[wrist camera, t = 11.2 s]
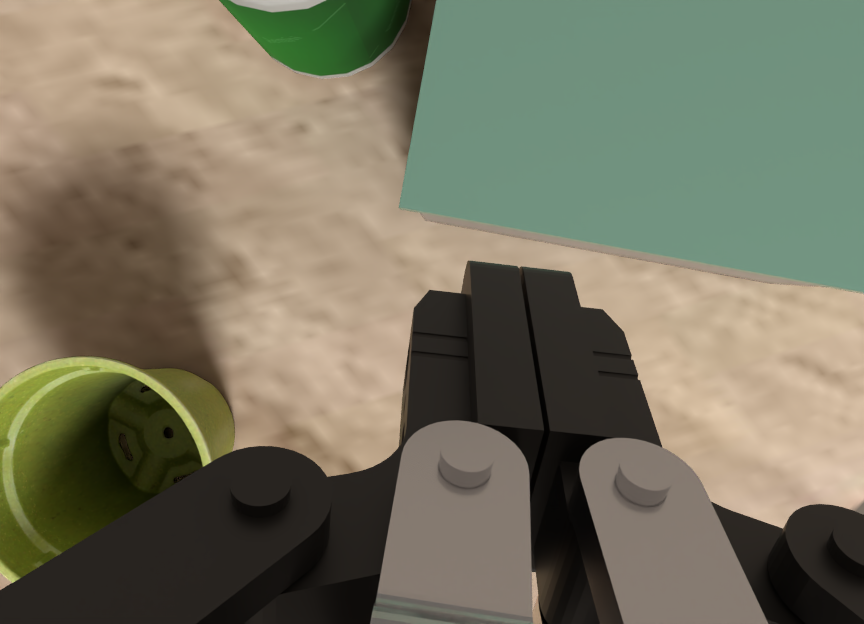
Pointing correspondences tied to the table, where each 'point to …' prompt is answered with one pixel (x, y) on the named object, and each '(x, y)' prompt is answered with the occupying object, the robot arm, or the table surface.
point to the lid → (652, 128)
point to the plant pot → (95, 449)
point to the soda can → (323, 32)
